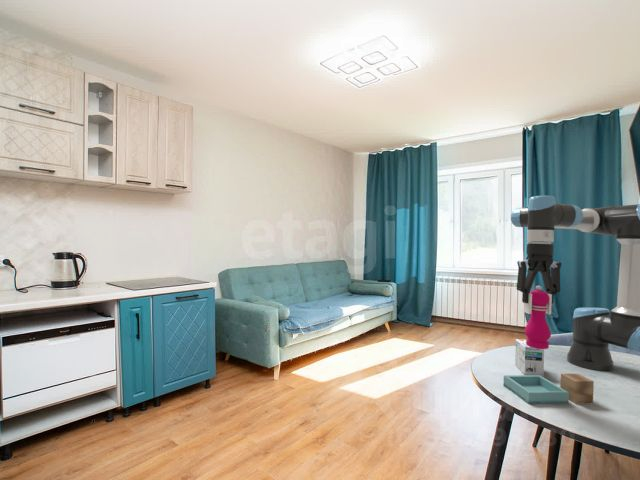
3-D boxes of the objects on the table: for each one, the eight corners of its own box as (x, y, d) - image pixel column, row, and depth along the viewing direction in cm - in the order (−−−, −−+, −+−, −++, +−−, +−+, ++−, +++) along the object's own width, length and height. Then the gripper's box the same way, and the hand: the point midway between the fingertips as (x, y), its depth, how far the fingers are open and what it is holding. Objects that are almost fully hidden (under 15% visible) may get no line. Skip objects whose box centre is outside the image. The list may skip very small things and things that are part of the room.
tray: (539, 385, 120) (539, 375, 120) (568, 403, 107) (568, 392, 107) (503, 385, 120) (503, 375, 119) (528, 403, 107) (528, 392, 107)
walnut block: (577, 394, 114) (578, 373, 114) (592, 403, 108) (593, 381, 108) (560, 394, 113) (560, 373, 113) (574, 403, 107) (575, 381, 107)
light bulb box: (544, 377, 128) (545, 348, 128) (524, 375, 129) (525, 346, 129) (532, 366, 138) (533, 339, 138) (514, 365, 140) (514, 338, 139)
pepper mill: (521, 345, 114) (523, 285, 114) (528, 341, 119) (530, 283, 119) (546, 351, 109) (548, 287, 108) (553, 346, 113) (554, 285, 113)
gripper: (519, 242, 109) (516, 315, 110) (576, 244, 110) (573, 316, 111) (505, 242, 117) (502, 310, 117) (559, 243, 118) (556, 311, 118)
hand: (537, 313), depth 114 cm, fingers closed on pepper mill, 6 cm apart
